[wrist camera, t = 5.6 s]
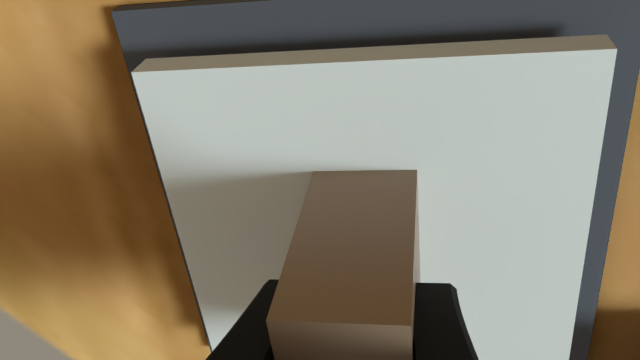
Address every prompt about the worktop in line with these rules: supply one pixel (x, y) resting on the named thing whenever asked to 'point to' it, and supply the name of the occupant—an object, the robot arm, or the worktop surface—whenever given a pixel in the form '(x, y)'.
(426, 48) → the lid
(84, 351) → the worktop surface
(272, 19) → the mat
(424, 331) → the robot arm
